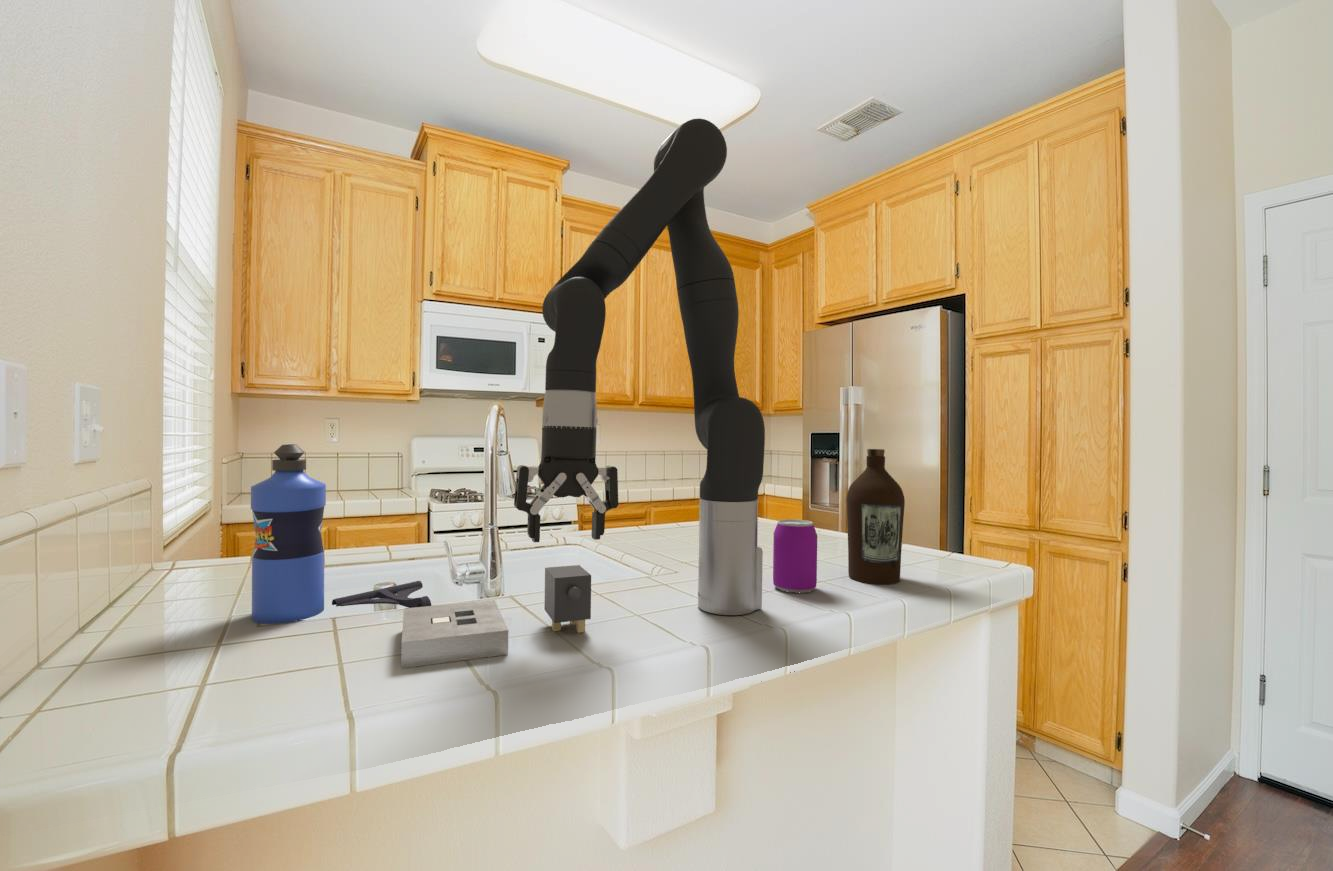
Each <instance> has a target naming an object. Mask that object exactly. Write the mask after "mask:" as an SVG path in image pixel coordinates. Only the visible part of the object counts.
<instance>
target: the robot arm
mask: <svg viewBox="0 0 1333 871" xmlns="http://www.w3.org/2000/svg"><path fill="white" fill-rule="evenodd" d="M727 155H728V147H727V142H726V138H725V137H724V134H723V133H722V131H721V129H719V128H718V126H717V125H716V124H714V123H713V122H711V121H710V120H707V119H705V118H701V117H700V118H699V117H698V118H692V119H688V120H686V121H684V122H683V123H681V124H680V125H678V126H677V127H676V128H675V129H674V130H673V131H672V132H671V133H670V135H668V137H666V138H665V140H664V141H663V142H661V144H660V145H659V147H658V148H657V150H656V153H655V155H654V159H653V173H652V174H651V175H650V177H649V178H648V179H647V181H646V182H645V183H644V184H643V185H642V186H641V188H639V189H638V191H637V192H636V193H635V194H634V195H633V196H632V197H631V198H630V199H629V200H628V201H627V202H626V203H625V204H624V205H623V206H622V207H621V208H620V210H619V211H617V212H616V214H615V215H614V216H613V217H612V218H611V219H610V221H608V222H607V224H606V225H605V226H604V227H603V229H602V230H600V232H599V234H598V235H597V236H596V237H595V238H594V240H593V241H592V242H591V243H590V244H589V246H588V247H587V248H586V251H585V252H584V253H583V254H582V255H581V256H580V258H579V259H578V261H577V262H575V263H574V265H572V267H571V268H570V269H568V271H567V272H565V274H563V276H562V277H560V278H559V280H558V281H557V282H556V283H554V285H553V287H552V288H550V290H549V291H548V293H547V294H546V296H545V297H544V299H543V302H542V313H541V314H542V317H543V320H544V322H545V325H546V326H547V327H548V328H549V329H550V330H552V331H553V332H555V334H554V341H553V343H554V344H553V347H552V348H551V351H550V352H549V353H548V354H547V358H546V364H545V365H546V366H545V383H544V384H545V386H544V387H545V388H544V389H545V390H544V397H543V404H542V405H543V406H542V418H541V419H542V420H541V421H542V422H541V424H542V425H541V451H540V452H541V454H540V458H541V459H540V463H539V465H538V467H537V466H527V465H524V464H521V465H518V467H517V469H516V478H515V490H514V491H515V492H514V501H513V506H514V508H515V509H517V510H518V511H521V512H524V513H526V515H527V526H526V527H527V529H526V530H527V532H526V533H527V536H528V538H530V539H531V540H532V542H533V543H540V541H541V540H540V539H541V515H540V514H539V513H540V511H541V510H542V509H543V507H544V506H545V505H546V503H548V502H549V501H550V500H551V499H552V497H553V496H554V497H556V498H565V497H566V498H567V497H573V498H581V497H582V496H583V497H584V498H585V499H586V501H587V502H588V503H589V505H590V507H592V508H593V510H594V511H592V512H591V513H592V514H591V538H592V539H593V540H595V541H597V540H599V541H600V540H601V536H604V533H605V529H606V528H605V526H606V525H605V524H606V521H605V519H606V514H607V512H608V511H610V510H612V509H616V508H618V506H619V480H618V479H619V478H618V474H619V473H618V468H617V467H616V466H611V465H607V466H604V467H598V466H597V464H596V460H597V459H596V458H597V457H596V456H597V425H598V405H597V360H598V355H599V352H600V349H601V345H602V338H603V335H604V329H605V323H606V313H607V312H606V301H605V300H606V298H607V297H608V296H609V295H610V294H611V293H612V292H613V291H615V290H617V289H618V288H619V287H620V286H622V285H623V284H624V283H625V282H626V281H627V280H628V278H629V277H630V276H631V275H632V273H633V272H634V271H635V269H636V268H637V267H638V266H639V264H640V262H642V260H643V259H644V257H645V256H646V255H647V253H648V252H649V251H650V250H651V248H652V247H653V245H654V244H655V242H656V241H657V240H658V238H659V237H660V236H661V234H662V233H663V232H664V230H665V229H666V228H667V232H668V236H669V243H670V245H669V246H670V250H671V257H672V262H673V269H674V276H675V282H676V283H675V284H676V292H677V299H678V306H679V311H680V317H681V322H682V327H683V333H684V339H685V344H686V350H687V354H688V359H689V364H690V371H691V376H692V392H693V408H694V409H693V410H694V429H695V434H696V436H697V439H698V441H699V442H700V444H701V446H703V448H704V449H706V451H707V452H706V468H705V473H704V476H703V478H702V479H701V480H700V482H699V506H698V507H699V513H698V516H699V520H698V521H699V522H698V526H699V527H698V528H699V529H698V576H697V578H698V584H697V585H698V586H697V607H698V608H699V609H700V610H702V611H704V612H707V613H709V614H715V615H720V616H722V615H723V616H741V615H747V614H751V613H753V612H754V611H756V610H762V608H763V606H762V605H763V554H764V553H763V552H764V551H763V549H762V547H760V546H758V533H759V532H758V527H759V526H758V524H759V520H758V518H759V516H758V515H759V514H758V513H759V511H758V509H759V508H758V507H759V500H758V499H759V488H760V486H761V483H762V480H763V476H764V461H765V447H766V446H765V444H766V442H765V440H766V430H765V420H764V417H763V414H762V412H761V409H760V408H759V407H758V406H757V405H756V403H755V402H753V401H752V400H750V399H749V398H745V397H741V396H740V393H739V390H738V383H737V380H736V379H737V378H736V372H735V356H736V355H735V354H736V346H737V345H736V344H737V338H738V327H739V318H740V317H739V314H740V313H739V302H738V295H737V288H736V283H735V276H734V272H733V268H732V265H731V263H730V261H729V259H728V258H727V256H726V254H725V252H724V251H723V249H722V247H721V246H720V245H719V243H718V241H717V240H716V239H715V237H714V235H713V234H712V232H711V229H710V227H709V224H708V218H707V213H706V212H707V211H706V206H705V194H704V193H705V192H704V191H705V187H706V186H708V185H709V184H710V183H711V182H713V181H714V180H715V179H716V178H717V177H718V176H719V174H720V173H721V172H722V170H723V168H724V167H725V165H726V164H725V163H726V160H727ZM536 475H537V477H538V478H539V479H540V481H541V483H542V484H543V485H542V486H541V487H540V489H538V491H537V493H536V494H535V496H534V497H533V498H532V500H531V501H530V502H527V498H528V497H527V496H528V487H529V486H528V485H529V483H530V482H532V481H533V480H534V478H535V476H536ZM598 476H599V477H600V480H601V481H603V482H604V493H605V496H604V497H605V498H604V499H605V500H602V499H601V498H600V496H599V493H597V492H596V490H595V489H594V487H593V486H592V484H593V483H594V481H596V479H597V478H598Z"/></svg>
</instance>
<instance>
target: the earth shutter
mask: <svg viewBox="0 0 1333 871" xmlns="http://www.w3.org/2000/svg"><path fill="white" fill-rule="evenodd" d="M444 622H450V620H449V617H443V618H433V619H432V624H434V623H444Z"/></svg>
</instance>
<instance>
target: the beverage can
mask: <svg viewBox="0 0 1333 871" xmlns="http://www.w3.org/2000/svg"><path fill="white" fill-rule="evenodd" d="M772 547H773V550H772V551H773V552H772V554H773V558H772V562H773V563H772V579H773V580H772V581H773V582H772V584H773V586H774V587H775V588H776V589H777V588H778V589H777V590H779V589H780V590H779V591H781V590H783V591H782V592H784V591H788V592H797V593H796V594H804V593H803V592H808V593H810V592H809V591H811V592H812V591H813V590H814V589H816V587H817V582H818V580H817V579H818V578H817V576H818V572H817V571H818V534H817V531H816V528H815V524H814V522H813V521H811V520H806V519H795V518H792V519H789V518H788V519H787V518H786V519H779V520H778V521H777V523H776V526H775V529H774V531H773V546H772ZM788 592H787V593H788ZM799 592H800V593H799Z"/></svg>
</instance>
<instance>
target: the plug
mask: <svg viewBox="0 0 1333 871" xmlns="http://www.w3.org/2000/svg"><path fill="white" fill-rule="evenodd" d="M591 600H592V575H591V573H589V572H588V570H586V569H585V568H583V567H582V566H581V565H580V564H576V565H562V566H561V565H560V566H548V567H544V610H545V612H546V614H547V615H548V616H549V618H550V619H551V630H552V631H553V632H557V631H561V629H562V627H561V623H568V622H569V623H570V625H575V631H576V632H577V633H586V620H591V619H592V618H591V617H592V616H591V615H592V610H591V609H592V601H591Z"/></svg>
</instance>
